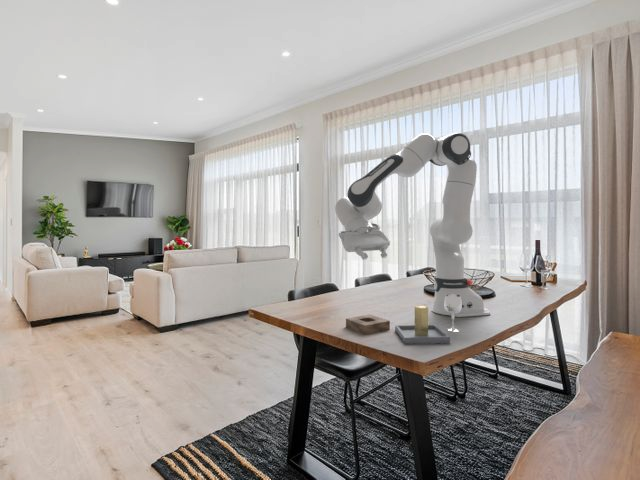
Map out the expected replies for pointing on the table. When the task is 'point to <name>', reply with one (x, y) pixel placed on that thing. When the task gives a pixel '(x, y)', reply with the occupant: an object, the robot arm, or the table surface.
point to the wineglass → (453, 308)
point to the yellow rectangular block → (421, 320)
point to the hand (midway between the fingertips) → (375, 257)
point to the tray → (410, 337)
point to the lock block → (367, 324)
